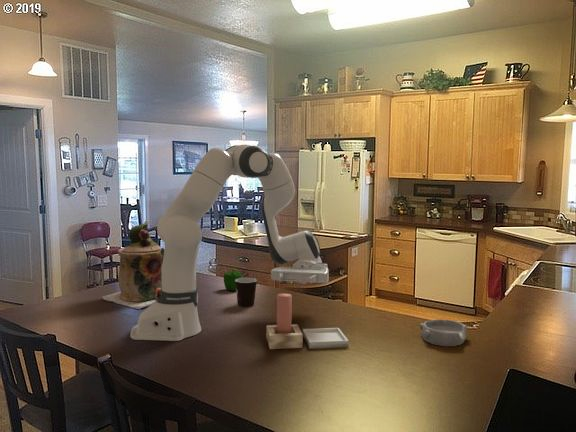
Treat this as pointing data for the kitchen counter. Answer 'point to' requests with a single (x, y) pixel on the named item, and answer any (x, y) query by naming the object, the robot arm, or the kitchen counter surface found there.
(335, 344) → the tray
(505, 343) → the kitchen counter surface
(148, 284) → the cookie jar
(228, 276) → the bell pepper
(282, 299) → the dowel
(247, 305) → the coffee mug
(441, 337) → the dish
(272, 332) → the socket block
